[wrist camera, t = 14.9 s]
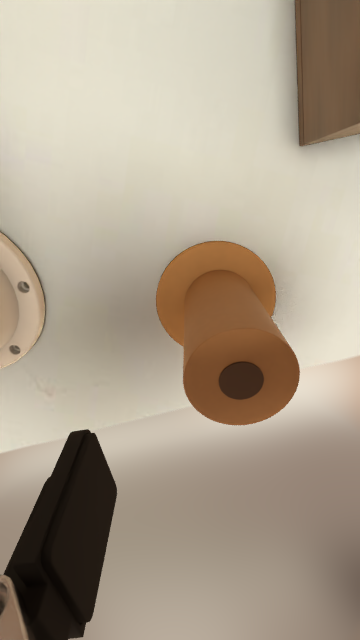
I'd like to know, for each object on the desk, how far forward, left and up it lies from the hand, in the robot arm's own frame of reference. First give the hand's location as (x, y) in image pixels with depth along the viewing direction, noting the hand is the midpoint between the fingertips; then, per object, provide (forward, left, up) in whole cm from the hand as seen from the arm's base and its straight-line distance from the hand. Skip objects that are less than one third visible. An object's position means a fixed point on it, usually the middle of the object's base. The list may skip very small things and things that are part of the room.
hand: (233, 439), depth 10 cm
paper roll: (+1, 0, -14) cm, 14 cm away
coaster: (+1, 0, -14) cm, 14 cm away
